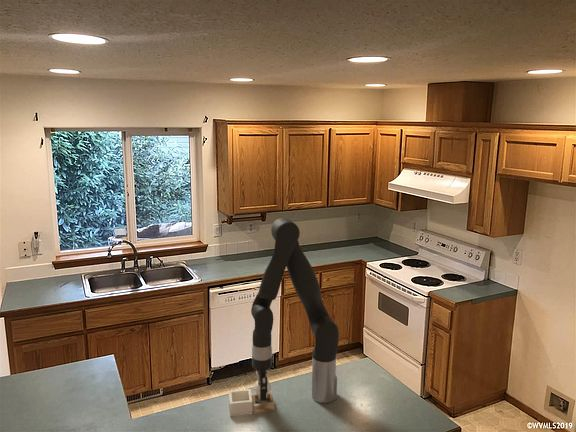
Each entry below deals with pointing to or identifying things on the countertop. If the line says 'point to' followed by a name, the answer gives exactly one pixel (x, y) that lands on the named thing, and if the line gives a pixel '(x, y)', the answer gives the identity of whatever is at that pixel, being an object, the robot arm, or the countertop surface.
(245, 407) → the cream open cubby box
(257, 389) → the lightbulb
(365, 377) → the countertop surface
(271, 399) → the wooden frame
